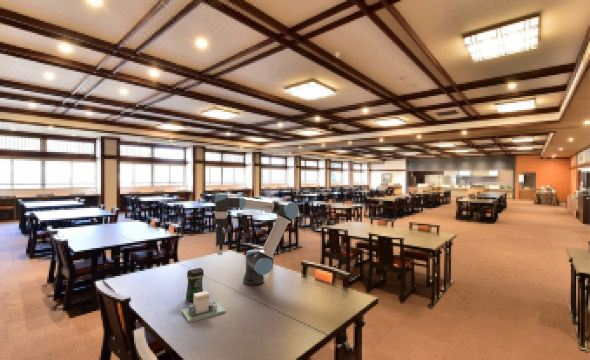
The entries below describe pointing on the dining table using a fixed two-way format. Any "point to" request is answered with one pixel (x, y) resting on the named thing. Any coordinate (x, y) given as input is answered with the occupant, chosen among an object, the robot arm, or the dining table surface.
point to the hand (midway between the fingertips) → (220, 254)
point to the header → (192, 313)
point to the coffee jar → (194, 282)
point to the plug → (201, 302)
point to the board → (216, 310)
